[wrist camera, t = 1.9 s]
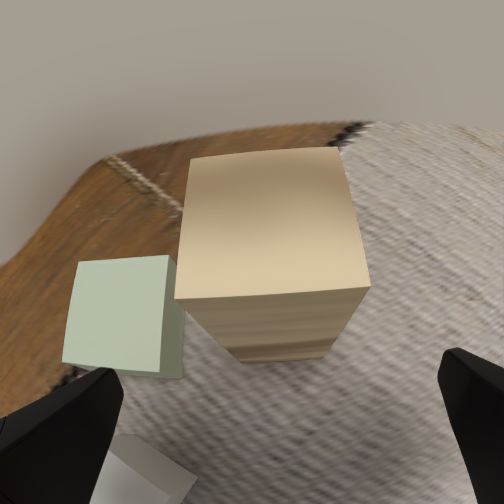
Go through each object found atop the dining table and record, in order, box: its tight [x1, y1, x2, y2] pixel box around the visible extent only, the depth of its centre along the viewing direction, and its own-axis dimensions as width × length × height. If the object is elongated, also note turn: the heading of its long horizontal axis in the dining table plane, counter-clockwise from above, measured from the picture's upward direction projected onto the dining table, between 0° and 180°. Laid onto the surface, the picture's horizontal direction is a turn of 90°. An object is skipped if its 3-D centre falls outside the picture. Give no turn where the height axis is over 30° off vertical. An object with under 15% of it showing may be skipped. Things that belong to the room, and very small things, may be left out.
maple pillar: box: [174, 147, 371, 363], centre depth 14 cm, size 5×5×12 cm
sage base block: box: [62, 255, 185, 379], centre depth 18 cm, size 7×7×4 cm
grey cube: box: [89, 434, 198, 504], centre depth 13 cm, size 5×5×5 cm
